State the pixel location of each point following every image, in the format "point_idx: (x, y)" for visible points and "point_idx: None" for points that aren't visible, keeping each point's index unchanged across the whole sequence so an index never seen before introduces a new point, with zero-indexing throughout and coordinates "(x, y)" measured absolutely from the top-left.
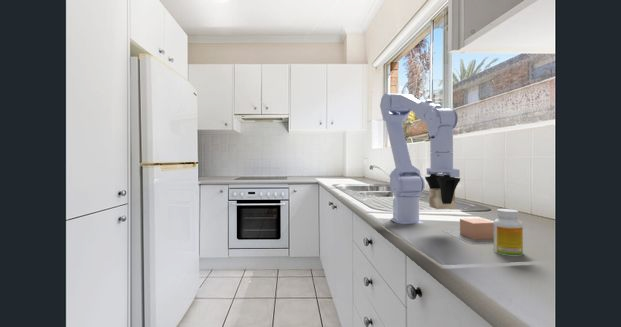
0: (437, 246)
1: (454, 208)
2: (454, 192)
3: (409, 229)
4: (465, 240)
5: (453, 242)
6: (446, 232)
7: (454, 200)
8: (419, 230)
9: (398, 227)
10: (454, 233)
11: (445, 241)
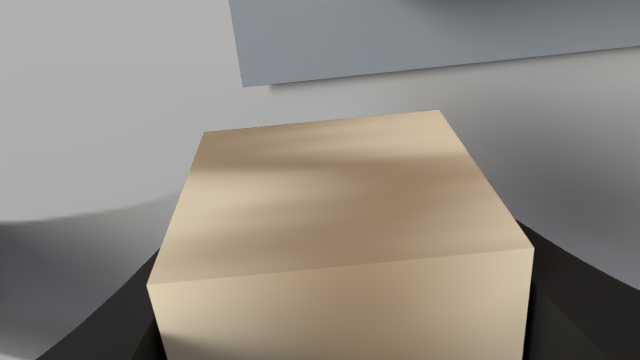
0: (593, 236)
1: (439, 117)
2: (511, 225)
3: (132, 272)
4: (575, 38)
5: (532, 111)
6: (308, 75)
7: (468, 160)
8: (161, 217)
9: (71, 323)
10: (349, 23)
11: (497, 152)
